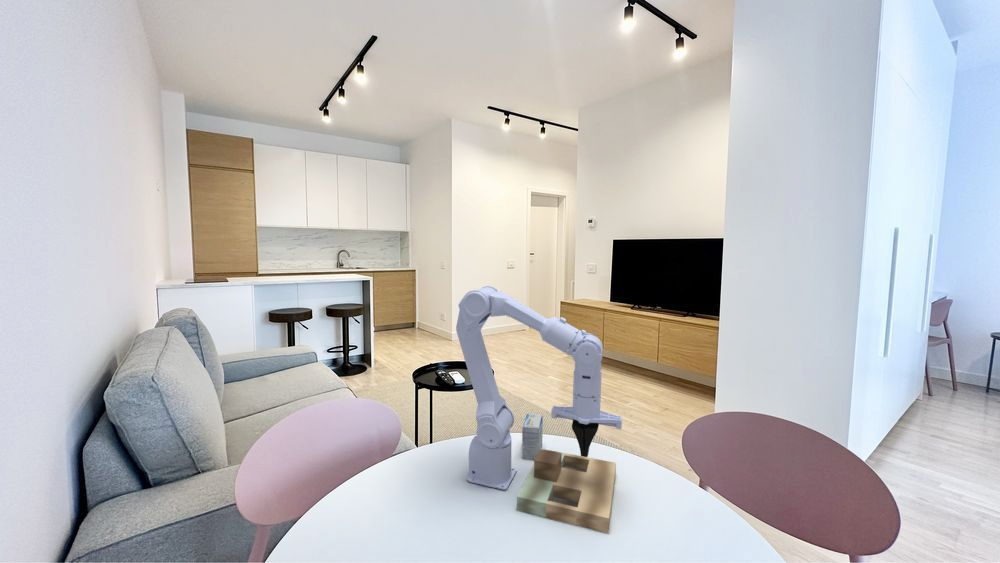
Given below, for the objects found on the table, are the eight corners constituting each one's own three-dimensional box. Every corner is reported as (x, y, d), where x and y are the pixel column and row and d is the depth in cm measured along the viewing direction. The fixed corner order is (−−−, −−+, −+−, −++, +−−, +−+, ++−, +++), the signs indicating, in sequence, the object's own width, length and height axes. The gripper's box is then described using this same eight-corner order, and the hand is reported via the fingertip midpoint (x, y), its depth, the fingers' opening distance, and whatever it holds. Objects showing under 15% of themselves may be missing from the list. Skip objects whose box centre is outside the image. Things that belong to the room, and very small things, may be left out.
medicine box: (539, 461, 97) (540, 427, 97) (521, 459, 98) (522, 426, 97) (542, 445, 105) (543, 414, 104) (526, 443, 106) (526, 412, 105)
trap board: (516, 510, 79) (516, 496, 79) (540, 459, 98) (541, 448, 98) (608, 533, 73) (609, 518, 73) (615, 474, 92) (616, 462, 91)
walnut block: (533, 477, 85) (534, 460, 85) (539, 465, 90) (539, 448, 90) (556, 482, 84) (557, 464, 83) (561, 469, 88) (561, 453, 88)
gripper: (548, 394, 81) (547, 457, 82) (621, 405, 76) (619, 471, 77) (555, 383, 88) (554, 441, 89) (623, 392, 83) (620, 453, 84)
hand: (584, 454), depth 84 cm, fingers closed
